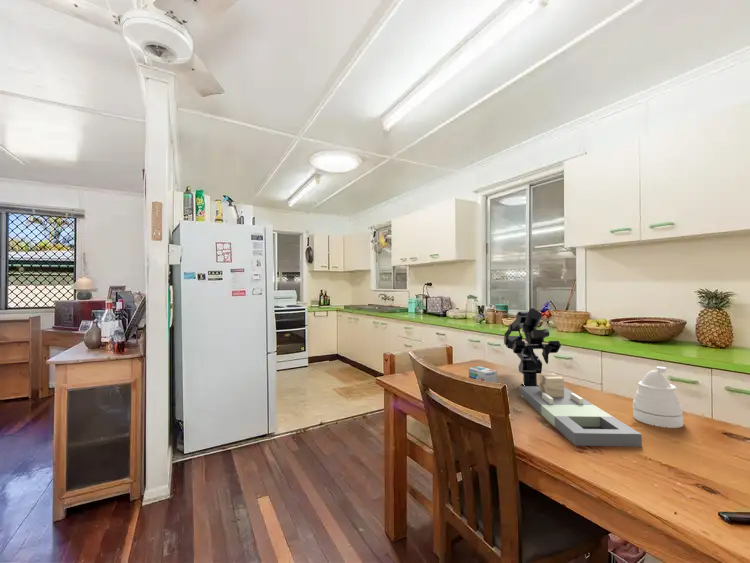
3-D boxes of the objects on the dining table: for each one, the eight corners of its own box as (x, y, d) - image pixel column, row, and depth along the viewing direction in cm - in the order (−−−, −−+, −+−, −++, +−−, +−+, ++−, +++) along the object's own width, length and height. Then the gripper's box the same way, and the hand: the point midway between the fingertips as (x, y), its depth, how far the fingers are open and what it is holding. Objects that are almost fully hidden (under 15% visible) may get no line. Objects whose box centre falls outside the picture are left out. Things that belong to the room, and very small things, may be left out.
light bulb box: (468, 391, 149) (467, 367, 149) (480, 389, 151) (479, 365, 152) (486, 398, 139) (485, 372, 139) (498, 396, 142) (497, 370, 142)
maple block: (539, 390, 136) (538, 373, 137) (555, 390, 136) (554, 373, 136) (547, 396, 128) (547, 378, 129) (564, 396, 128) (563, 378, 128)
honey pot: (692, 423, 109) (689, 368, 110) (668, 430, 104) (665, 372, 105) (647, 411, 121) (645, 360, 121) (624, 416, 116) (622, 364, 117)
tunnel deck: (519, 394, 143) (519, 381, 143) (563, 394, 141) (563, 381, 141) (575, 445, 96) (574, 426, 96) (642, 446, 94) (641, 426, 94)
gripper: (513, 322, 147) (523, 352, 136) (558, 322, 145) (571, 352, 134) (508, 338, 155) (517, 367, 143) (551, 337, 153) (563, 367, 142)
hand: (542, 363), depth 140 cm, fingers open, 4 cm apart
